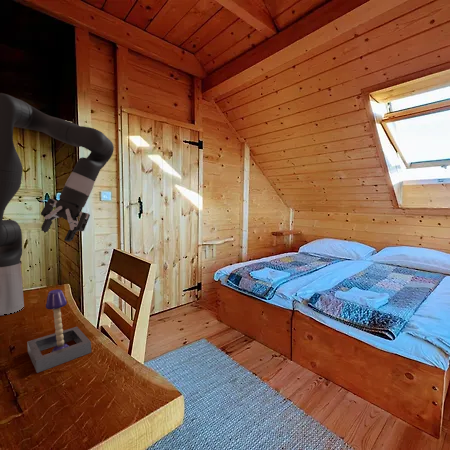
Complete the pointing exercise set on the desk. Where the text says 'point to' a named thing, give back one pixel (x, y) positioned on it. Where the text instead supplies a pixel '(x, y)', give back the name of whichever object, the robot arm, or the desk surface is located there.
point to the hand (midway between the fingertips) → (55, 236)
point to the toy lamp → (57, 315)
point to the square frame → (60, 355)
